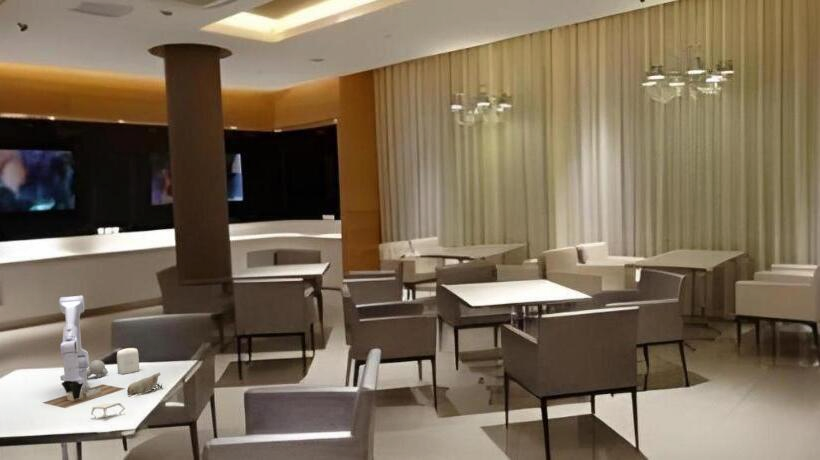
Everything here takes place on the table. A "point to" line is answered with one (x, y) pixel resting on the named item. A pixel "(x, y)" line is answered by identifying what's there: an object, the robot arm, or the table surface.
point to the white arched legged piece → (105, 406)
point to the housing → (90, 392)
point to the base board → (67, 403)
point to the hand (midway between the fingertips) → (73, 397)
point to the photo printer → (127, 361)
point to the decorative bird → (144, 385)
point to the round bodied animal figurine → (96, 369)
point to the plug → (70, 395)
